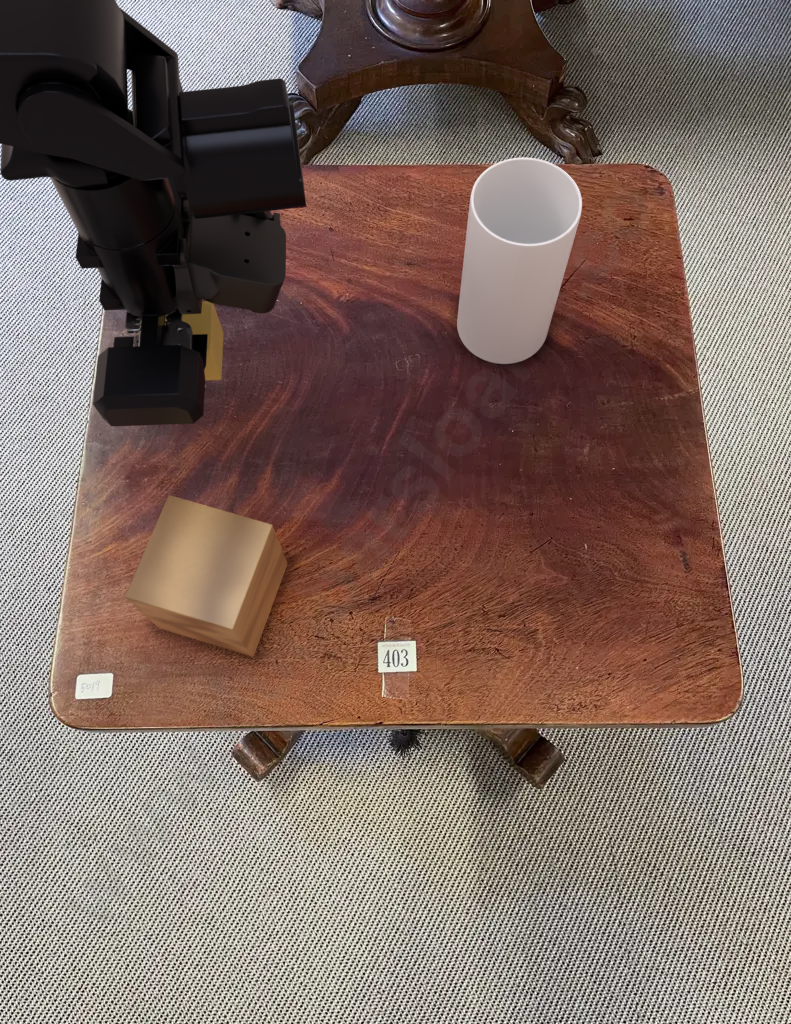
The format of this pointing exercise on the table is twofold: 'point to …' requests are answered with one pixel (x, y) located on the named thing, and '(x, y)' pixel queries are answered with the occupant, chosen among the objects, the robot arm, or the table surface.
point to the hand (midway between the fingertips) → (187, 357)
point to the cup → (515, 257)
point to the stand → (209, 575)
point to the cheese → (209, 338)
